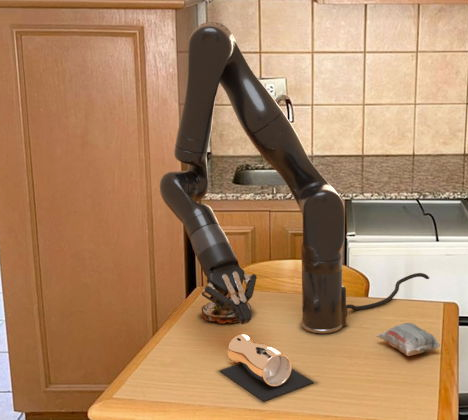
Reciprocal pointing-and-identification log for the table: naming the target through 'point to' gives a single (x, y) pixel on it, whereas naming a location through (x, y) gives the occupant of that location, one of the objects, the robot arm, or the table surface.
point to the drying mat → (262, 389)
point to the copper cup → (260, 360)
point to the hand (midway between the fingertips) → (246, 322)
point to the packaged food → (409, 339)
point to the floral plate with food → (219, 313)
